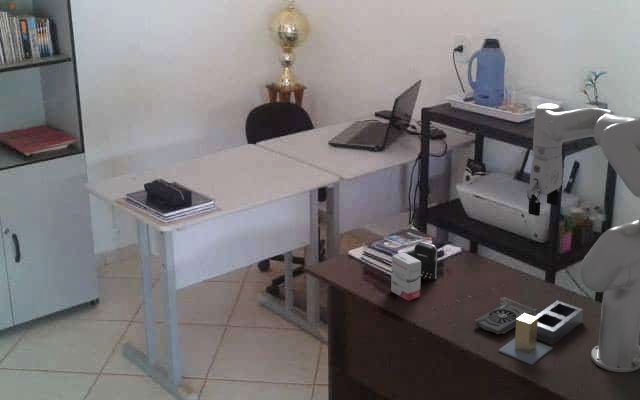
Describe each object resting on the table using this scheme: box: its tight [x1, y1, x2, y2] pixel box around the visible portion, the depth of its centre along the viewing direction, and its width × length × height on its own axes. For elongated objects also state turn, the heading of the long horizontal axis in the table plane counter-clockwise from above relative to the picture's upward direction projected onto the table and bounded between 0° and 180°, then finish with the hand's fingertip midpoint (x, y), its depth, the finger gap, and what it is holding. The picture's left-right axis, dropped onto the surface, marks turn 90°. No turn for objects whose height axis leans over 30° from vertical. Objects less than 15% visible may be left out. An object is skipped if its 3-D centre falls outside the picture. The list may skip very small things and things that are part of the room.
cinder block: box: [535, 300, 584, 345], centre depth 237 cm, size 8×16×4 cm, turn 136°
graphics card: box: [474, 296, 537, 335], centre depth 242 cm, size 17×4×12 cm
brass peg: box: [514, 313, 538, 354], centre depth 226 cm, size 4×4×9 cm
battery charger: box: [413, 241, 438, 282], centre depth 267 cm, size 7×4×11 cm, turn 51°
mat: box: [498, 337, 553, 366], centre depth 228 cm, size 10×10×1 cm
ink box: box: [390, 251, 422, 302], centre depth 258 cm, size 9×5×12 cm, turn 34°
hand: (543, 209), depth 238 cm, fingers open, 9 cm apart
